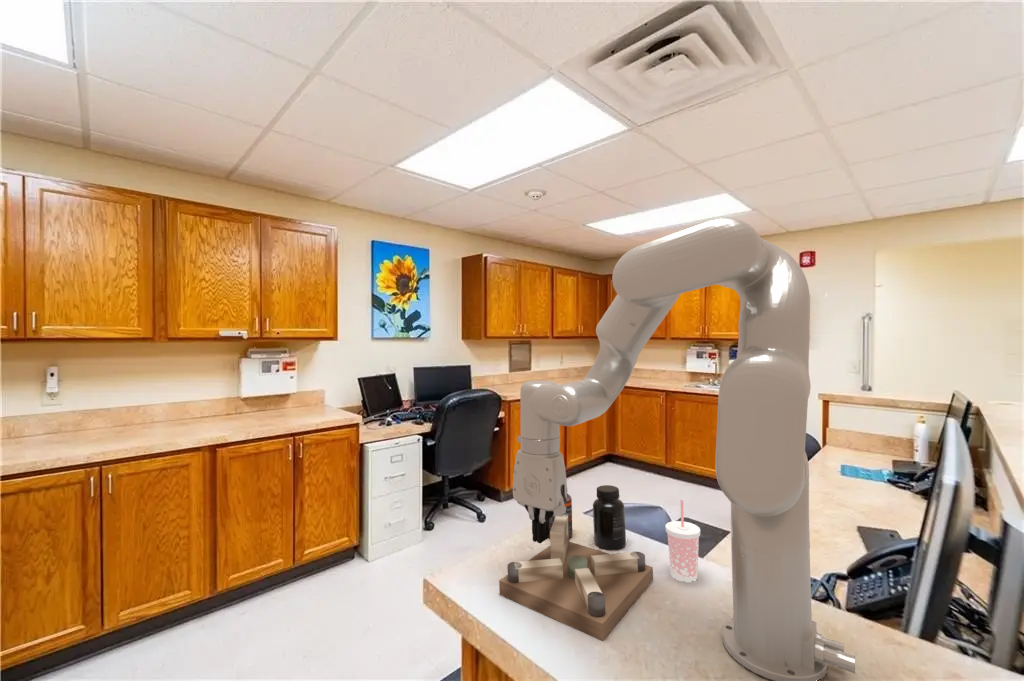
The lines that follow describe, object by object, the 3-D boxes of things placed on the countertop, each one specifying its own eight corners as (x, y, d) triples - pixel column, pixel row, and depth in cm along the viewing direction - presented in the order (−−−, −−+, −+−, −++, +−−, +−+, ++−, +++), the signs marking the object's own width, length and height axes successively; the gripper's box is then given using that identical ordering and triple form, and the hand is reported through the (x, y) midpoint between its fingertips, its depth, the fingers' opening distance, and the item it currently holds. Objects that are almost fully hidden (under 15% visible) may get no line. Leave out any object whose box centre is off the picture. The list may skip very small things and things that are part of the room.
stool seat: (653, 580, 80) (652, 553, 80) (603, 640, 64) (602, 607, 64) (560, 550, 92) (559, 527, 92) (499, 594, 77) (498, 566, 77)
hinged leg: (557, 540, 91) (556, 511, 91) (570, 541, 90) (569, 512, 90) (550, 563, 82) (549, 531, 82) (564, 564, 81) (563, 532, 81)
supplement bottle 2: (623, 536, 98) (621, 483, 98) (628, 551, 91) (626, 493, 91) (592, 536, 99) (591, 483, 99) (595, 550, 92) (593, 493, 92)
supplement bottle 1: (571, 542, 96) (569, 491, 96) (544, 540, 97) (543, 489, 97) (573, 530, 102) (572, 482, 102) (548, 529, 103) (547, 481, 103)
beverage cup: (692, 588, 77) (689, 509, 77) (660, 575, 81) (658, 500, 81) (707, 575, 81) (705, 500, 81) (676, 563, 85) (674, 492, 86)
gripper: (498, 443, 86) (498, 536, 86) (562, 455, 76) (563, 559, 76) (521, 436, 91) (521, 523, 92) (584, 447, 82) (584, 543, 82)
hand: (540, 539), depth 84 cm, fingers closed
